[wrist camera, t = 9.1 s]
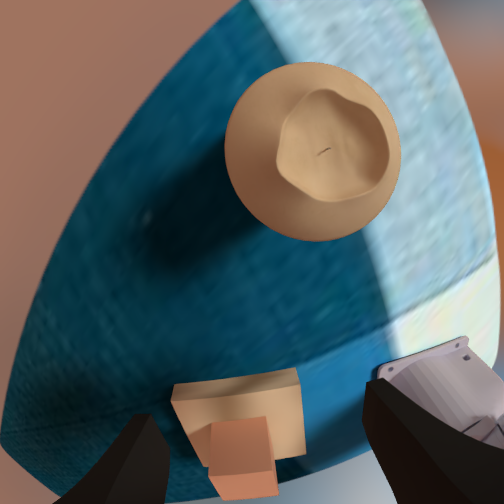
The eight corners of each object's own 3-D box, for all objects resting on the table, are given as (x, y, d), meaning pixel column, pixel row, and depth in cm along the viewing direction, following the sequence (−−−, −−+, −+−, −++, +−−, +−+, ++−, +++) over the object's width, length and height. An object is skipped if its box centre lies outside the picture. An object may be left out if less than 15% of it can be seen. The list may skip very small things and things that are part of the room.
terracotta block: (265, 416, 20) (272, 470, 15) (272, 445, 21) (279, 495, 16) (211, 422, 20) (208, 476, 15) (223, 451, 21) (223, 500, 16)
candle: (243, 213, 17) (255, 280, 8) (218, 120, 16) (198, 67, 6) (334, 191, 17) (436, 229, 8) (312, 100, 16) (399, 42, 6)
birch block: (293, 362, 21) (300, 384, 19) (301, 434, 24) (306, 454, 22) (175, 379, 21) (170, 401, 19) (205, 446, 24) (203, 466, 21)
